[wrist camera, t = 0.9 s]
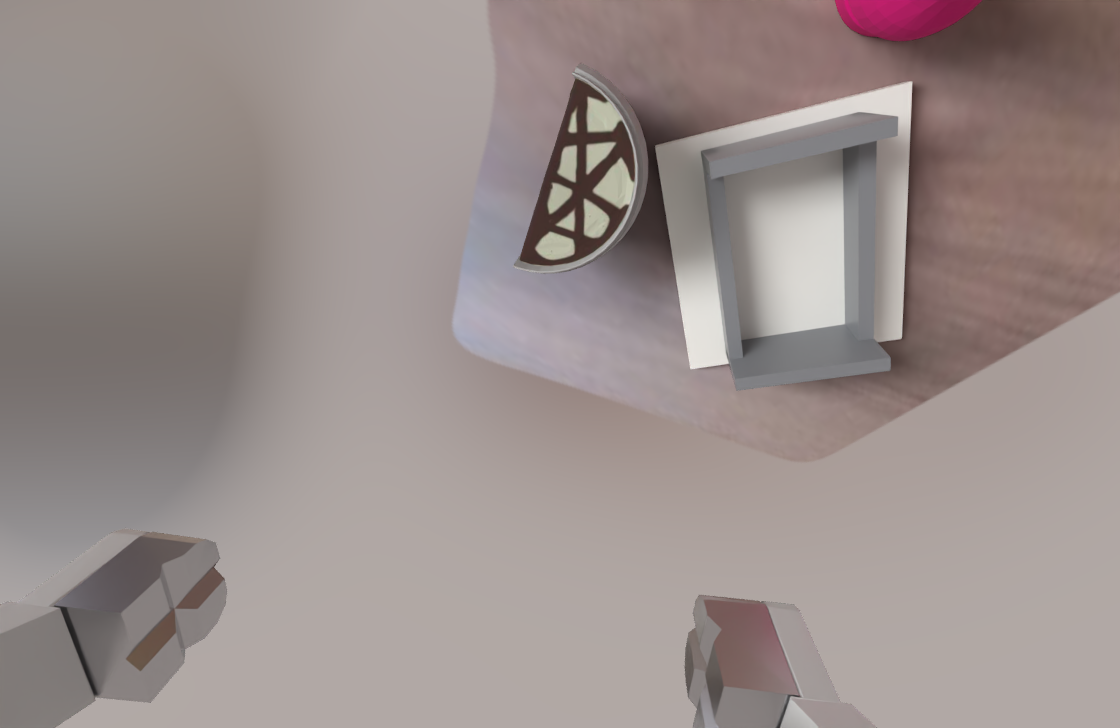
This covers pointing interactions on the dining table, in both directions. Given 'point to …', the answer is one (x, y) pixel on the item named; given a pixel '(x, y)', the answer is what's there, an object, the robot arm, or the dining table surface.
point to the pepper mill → (902, 16)
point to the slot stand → (793, 238)
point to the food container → (588, 180)
